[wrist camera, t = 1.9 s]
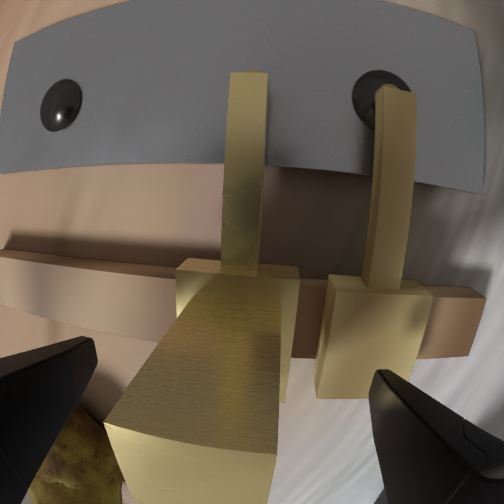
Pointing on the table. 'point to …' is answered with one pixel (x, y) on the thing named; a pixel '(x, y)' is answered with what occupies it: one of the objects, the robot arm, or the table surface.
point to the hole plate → (218, 80)
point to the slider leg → (217, 349)
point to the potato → (79, 466)
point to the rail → (310, 290)
